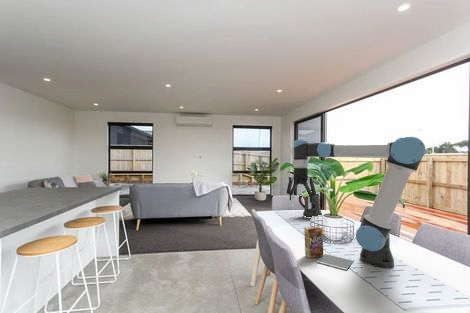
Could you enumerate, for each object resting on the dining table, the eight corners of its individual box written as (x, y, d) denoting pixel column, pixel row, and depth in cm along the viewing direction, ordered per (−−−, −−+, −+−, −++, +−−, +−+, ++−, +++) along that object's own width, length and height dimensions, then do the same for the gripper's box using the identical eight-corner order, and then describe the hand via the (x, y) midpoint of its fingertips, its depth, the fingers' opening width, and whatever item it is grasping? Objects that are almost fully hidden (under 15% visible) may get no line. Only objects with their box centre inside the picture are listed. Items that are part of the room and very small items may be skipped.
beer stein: (325, 219, 213) (325, 190, 213) (305, 220, 208) (305, 191, 209) (315, 214, 229) (315, 188, 229) (296, 215, 225) (296, 189, 225)
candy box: (309, 258, 127) (307, 229, 128) (305, 255, 131) (303, 227, 132) (324, 256, 129) (322, 227, 130) (319, 253, 133) (318, 225, 134)
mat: (354, 261, 124) (354, 260, 124) (346, 270, 113) (346, 269, 113) (325, 254, 133) (325, 253, 133) (316, 262, 122) (316, 261, 122)
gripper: (322, 167, 131) (323, 208, 131) (286, 167, 145) (286, 204, 145) (317, 167, 126) (318, 211, 125) (280, 167, 140) (280, 206, 139)
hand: (301, 207), depth 135 cm, fingers open, 9 cm apart
